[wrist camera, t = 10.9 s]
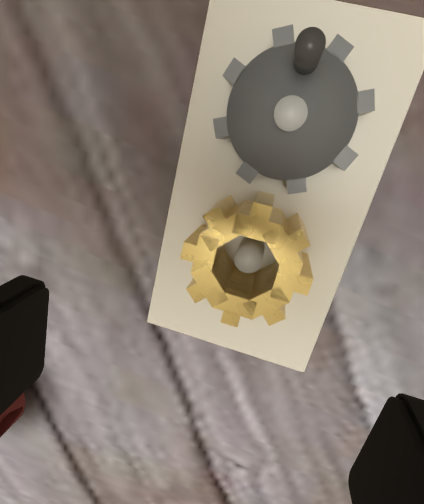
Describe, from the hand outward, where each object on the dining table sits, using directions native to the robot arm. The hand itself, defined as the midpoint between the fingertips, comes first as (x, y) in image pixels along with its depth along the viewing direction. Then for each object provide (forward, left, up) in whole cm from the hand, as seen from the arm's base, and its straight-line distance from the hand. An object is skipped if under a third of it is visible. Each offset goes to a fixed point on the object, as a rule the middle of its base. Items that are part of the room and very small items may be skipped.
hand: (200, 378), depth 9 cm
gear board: (-3, 0, -16) cm, 16 cm away
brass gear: (0, 0, -14) cm, 14 cm away
